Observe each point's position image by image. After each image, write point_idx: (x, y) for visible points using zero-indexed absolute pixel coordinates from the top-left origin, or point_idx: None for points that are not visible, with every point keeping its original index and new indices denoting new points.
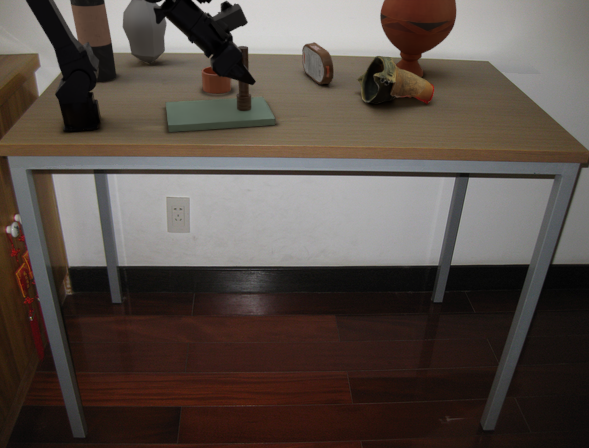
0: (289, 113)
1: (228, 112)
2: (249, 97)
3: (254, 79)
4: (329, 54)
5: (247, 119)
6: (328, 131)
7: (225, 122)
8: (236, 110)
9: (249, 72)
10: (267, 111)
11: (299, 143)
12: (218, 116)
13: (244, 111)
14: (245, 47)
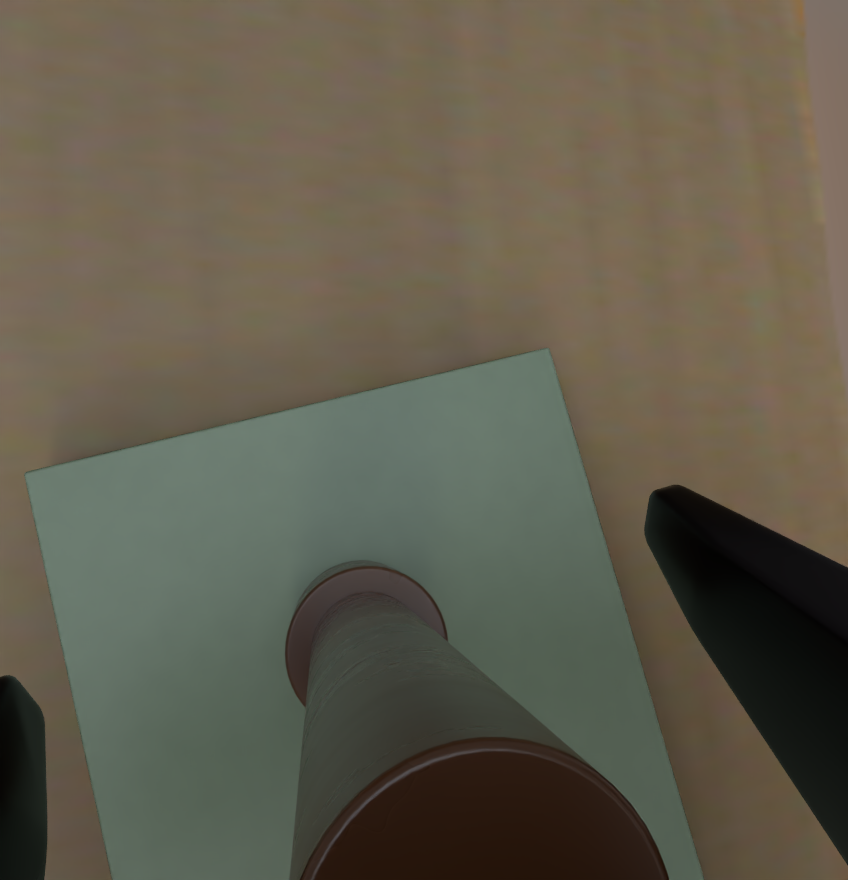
0: (287, 250)
1: None
2: (414, 581)
3: (708, 500)
4: None
5: (601, 571)
6: (590, 7)
7: (664, 749)
8: None
9: (816, 576)
10: (411, 414)
11: (793, 206)
12: None
13: None
14: (493, 846)
